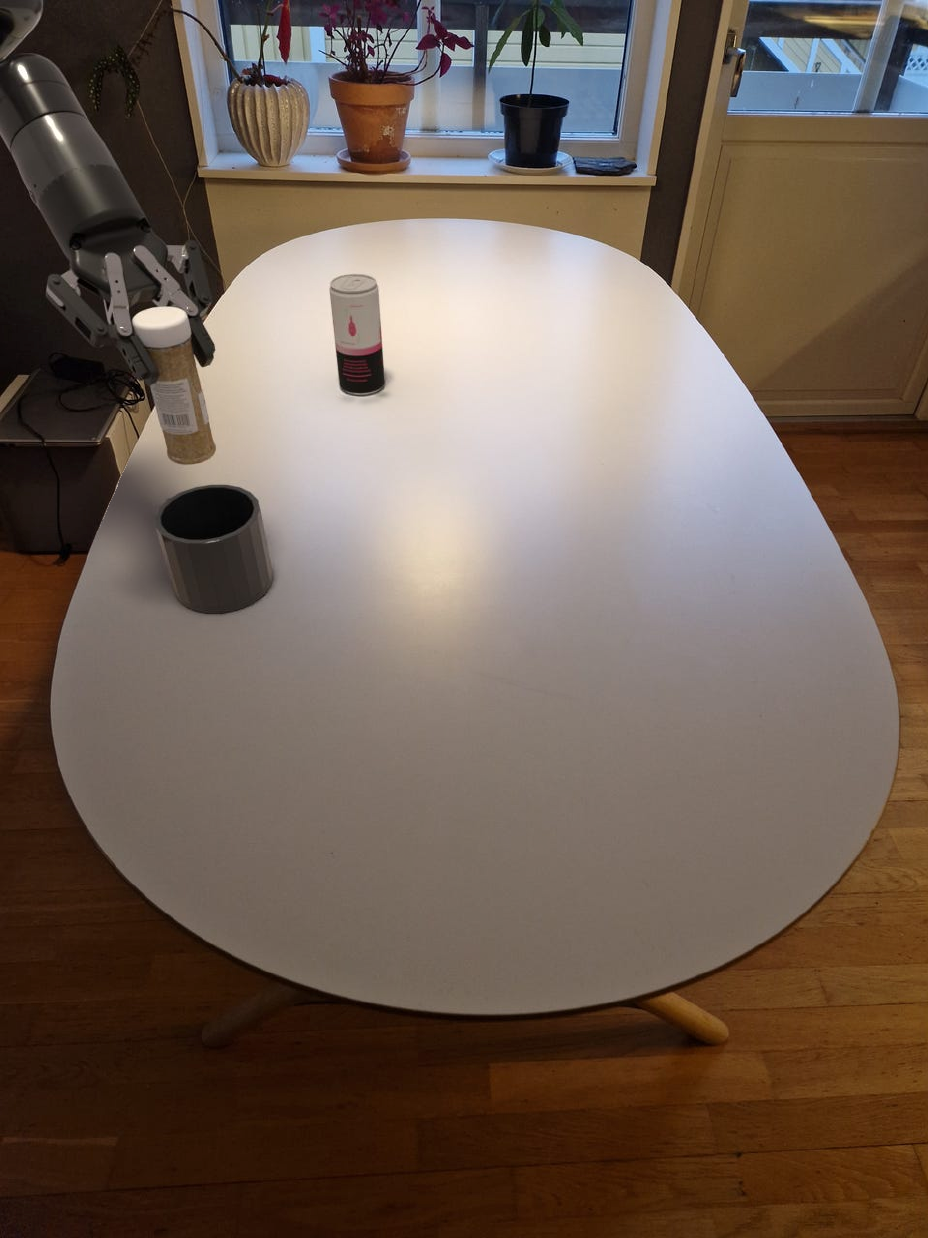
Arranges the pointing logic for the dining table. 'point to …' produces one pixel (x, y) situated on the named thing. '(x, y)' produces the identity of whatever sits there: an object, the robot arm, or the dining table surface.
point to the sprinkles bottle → (176, 384)
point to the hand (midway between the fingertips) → (181, 370)
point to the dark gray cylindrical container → (215, 548)
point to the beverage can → (357, 333)
